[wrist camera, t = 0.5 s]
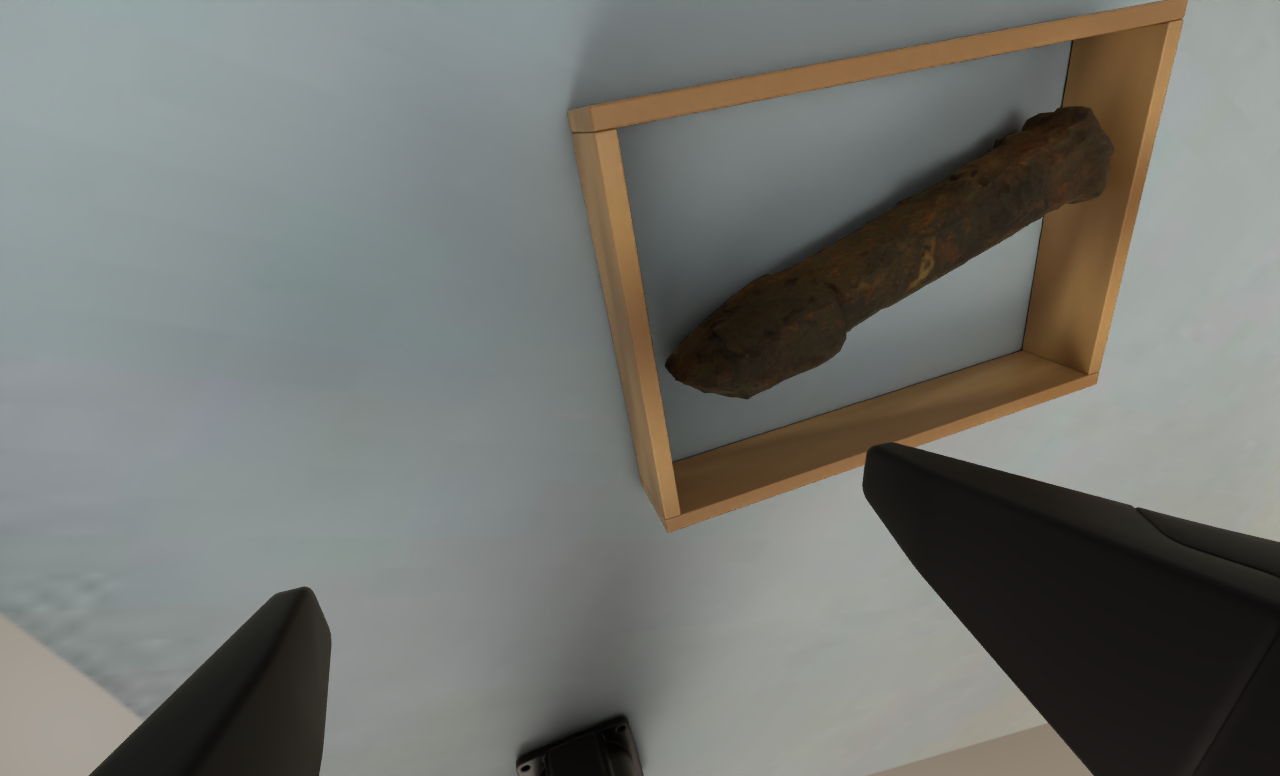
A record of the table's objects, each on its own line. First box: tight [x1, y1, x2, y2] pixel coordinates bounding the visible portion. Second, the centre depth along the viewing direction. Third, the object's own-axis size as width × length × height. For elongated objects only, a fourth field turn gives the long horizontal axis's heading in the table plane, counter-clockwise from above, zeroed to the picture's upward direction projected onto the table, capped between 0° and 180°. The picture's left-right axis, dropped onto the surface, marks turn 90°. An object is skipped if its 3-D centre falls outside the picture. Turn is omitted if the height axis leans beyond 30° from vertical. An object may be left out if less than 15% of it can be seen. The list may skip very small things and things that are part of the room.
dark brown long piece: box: [665, 106, 1114, 399], centre depth 22 cm, size 19×4×5 cm, turn 112°
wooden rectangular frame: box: [567, 0, 1188, 533], centre depth 23 cm, size 16×22×4 cm
